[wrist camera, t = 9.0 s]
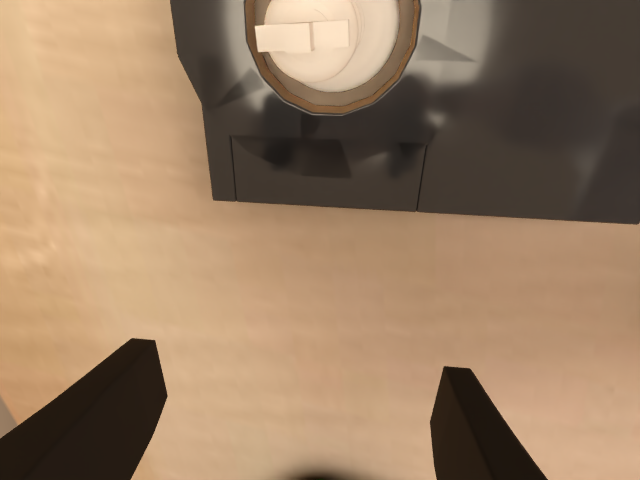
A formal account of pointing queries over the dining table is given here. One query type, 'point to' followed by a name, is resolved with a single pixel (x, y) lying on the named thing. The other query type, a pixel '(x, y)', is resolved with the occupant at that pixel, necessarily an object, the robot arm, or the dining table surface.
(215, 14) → the dark grey flat block
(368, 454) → the dining table surface
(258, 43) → the chess piece
